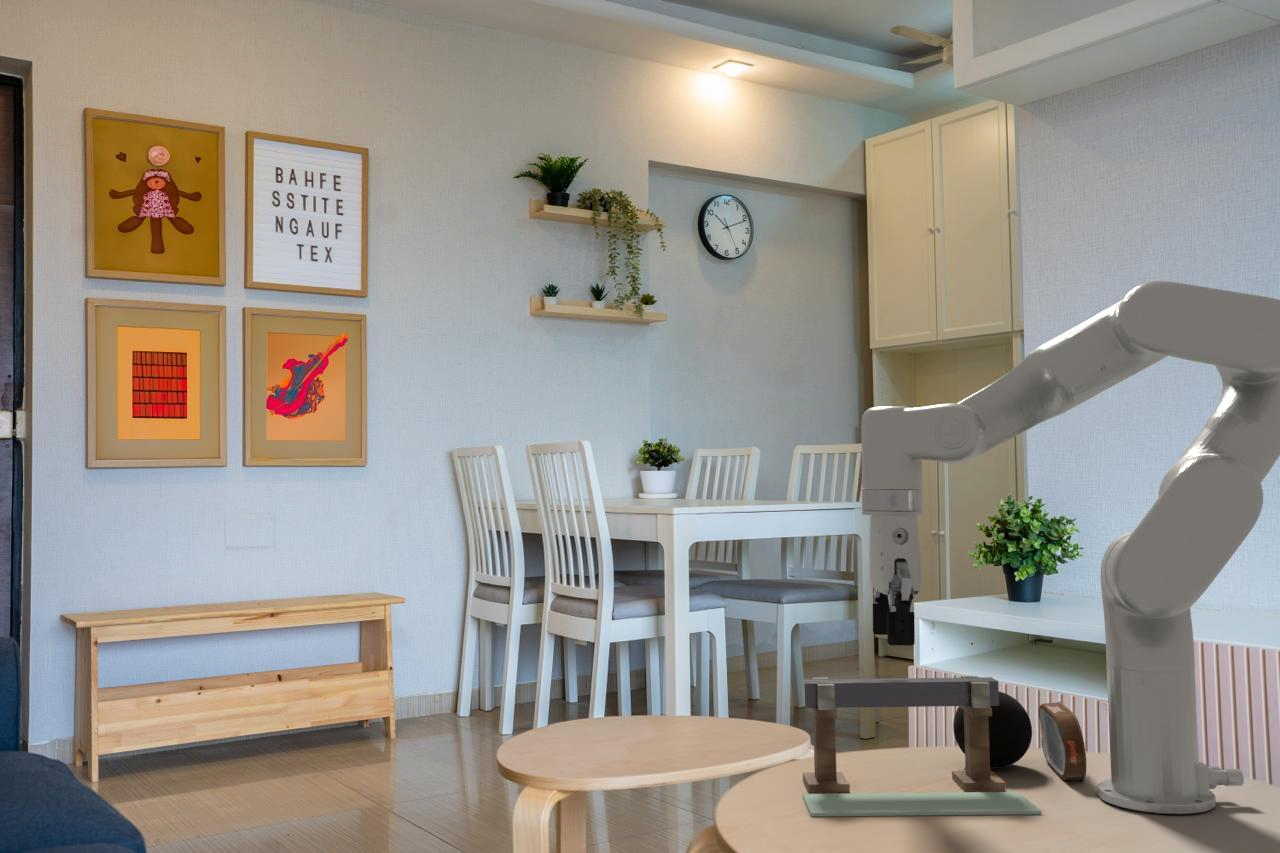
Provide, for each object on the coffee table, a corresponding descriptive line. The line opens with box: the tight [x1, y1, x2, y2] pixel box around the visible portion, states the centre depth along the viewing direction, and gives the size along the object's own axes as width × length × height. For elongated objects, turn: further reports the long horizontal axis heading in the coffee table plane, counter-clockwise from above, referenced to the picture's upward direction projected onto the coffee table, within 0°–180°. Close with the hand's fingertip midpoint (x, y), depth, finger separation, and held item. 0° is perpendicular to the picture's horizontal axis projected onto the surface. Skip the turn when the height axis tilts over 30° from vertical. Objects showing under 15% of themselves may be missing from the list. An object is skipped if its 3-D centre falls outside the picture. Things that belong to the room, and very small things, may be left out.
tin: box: [1038, 701, 1087, 781], centre depth 145 cm, size 15×3×8 cm, turn 172°
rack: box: [802, 675, 1007, 794], centre depth 140 cm, size 24×6×13 cm, turn 89°
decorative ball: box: [952, 691, 1033, 769], centre depth 149 cm, size 10×10×10 cm
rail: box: [801, 676, 1000, 709], centre depth 140 cm, size 24×3×3 cm, turn 89°
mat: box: [802, 791, 1042, 817], centre depth 131 cm, size 26×8×1 cm, turn 89°
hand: (892, 639), depth 141 cm, fingers open, 9 cm apart
